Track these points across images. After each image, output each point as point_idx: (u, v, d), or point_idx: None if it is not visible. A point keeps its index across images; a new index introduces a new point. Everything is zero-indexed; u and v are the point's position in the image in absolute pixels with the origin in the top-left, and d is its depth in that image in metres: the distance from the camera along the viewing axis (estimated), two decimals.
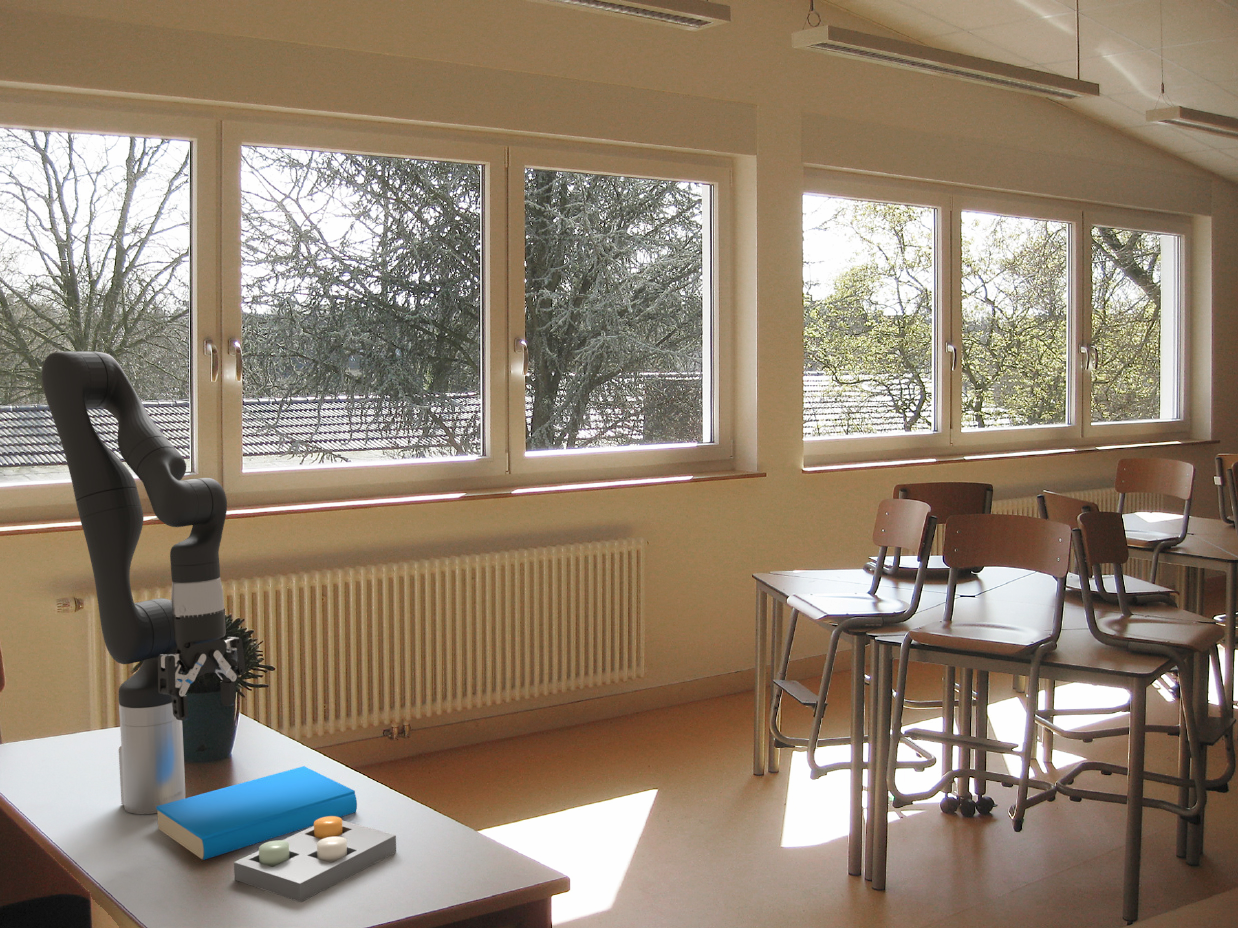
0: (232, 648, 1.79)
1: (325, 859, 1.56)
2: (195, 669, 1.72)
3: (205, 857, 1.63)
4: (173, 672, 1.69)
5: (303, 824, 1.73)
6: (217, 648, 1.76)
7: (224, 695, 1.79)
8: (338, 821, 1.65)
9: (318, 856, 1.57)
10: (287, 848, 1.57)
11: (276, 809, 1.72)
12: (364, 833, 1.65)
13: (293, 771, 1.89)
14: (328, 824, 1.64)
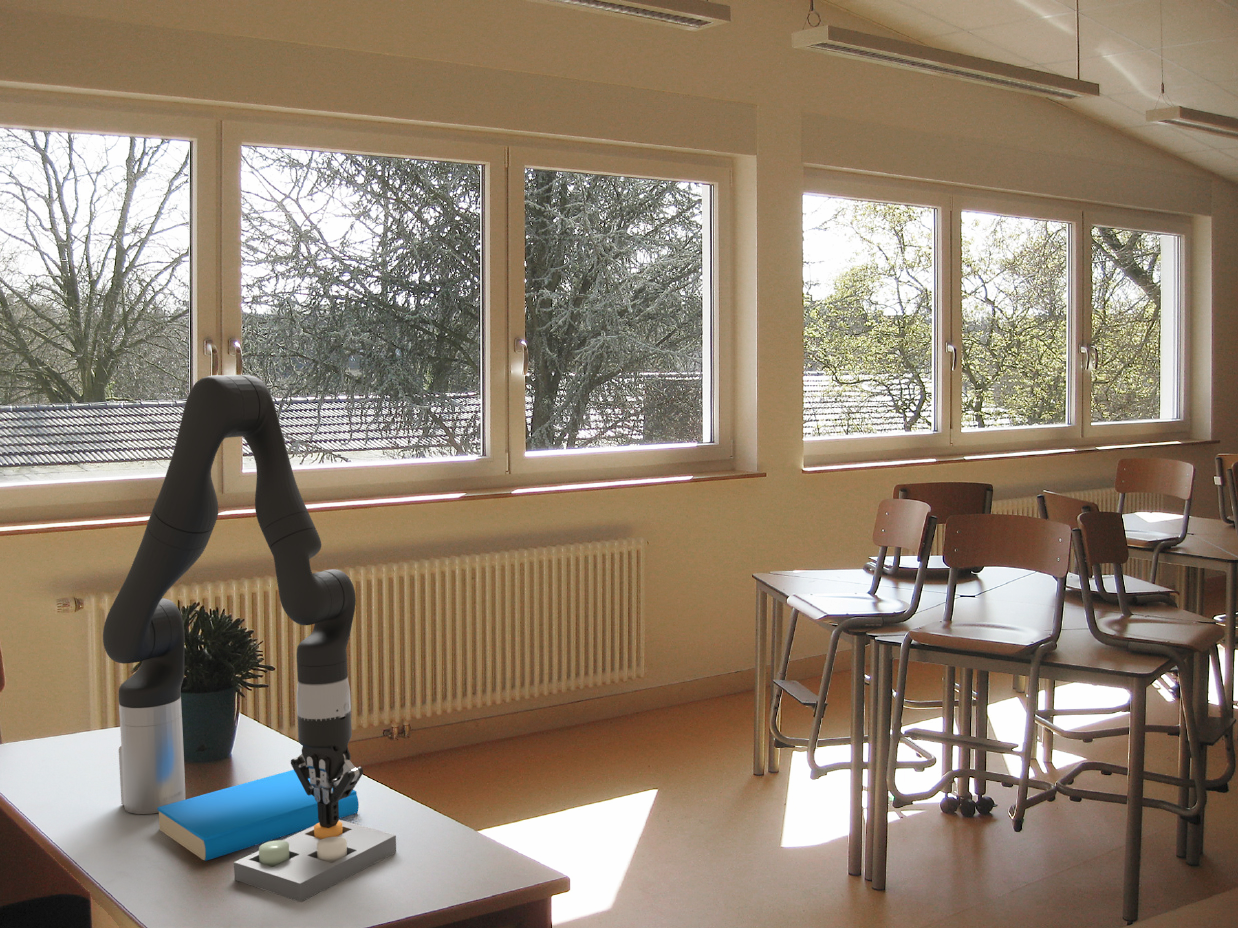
0: None
1: (325, 859, 1.56)
2: None
3: (207, 858, 1.62)
4: None
5: (304, 825, 1.72)
6: None
7: None
8: (338, 825, 1.66)
9: (318, 856, 1.57)
10: (287, 848, 1.57)
11: (278, 810, 1.72)
12: (364, 833, 1.65)
13: (294, 771, 1.88)
14: (328, 828, 1.64)
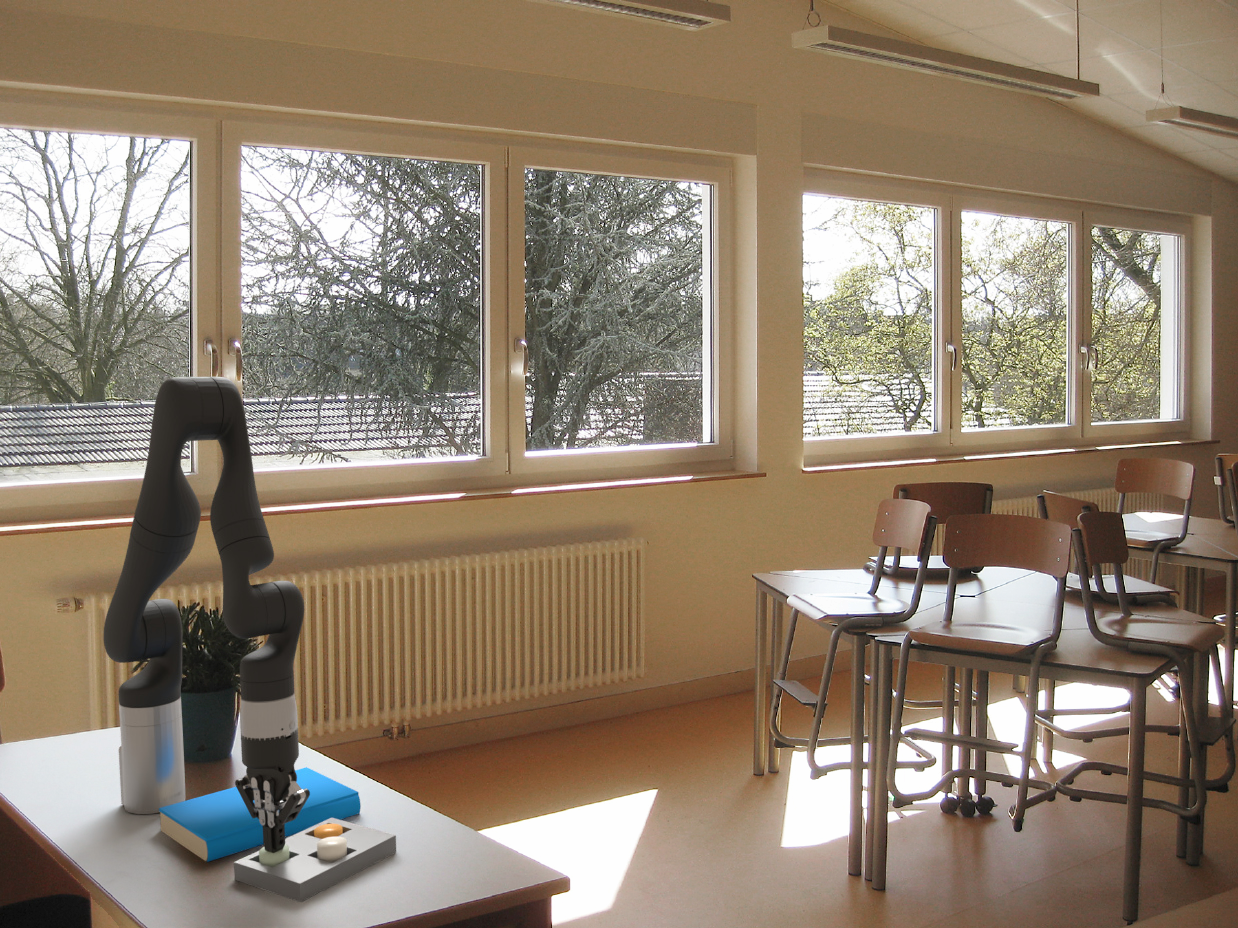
0: None
1: (325, 859, 1.56)
2: None
3: (209, 859, 1.62)
4: None
5: (306, 826, 1.72)
6: None
7: None
8: (338, 828, 1.66)
9: (318, 856, 1.57)
10: (287, 852, 1.57)
11: None
12: (364, 833, 1.65)
13: None
14: (328, 831, 1.65)
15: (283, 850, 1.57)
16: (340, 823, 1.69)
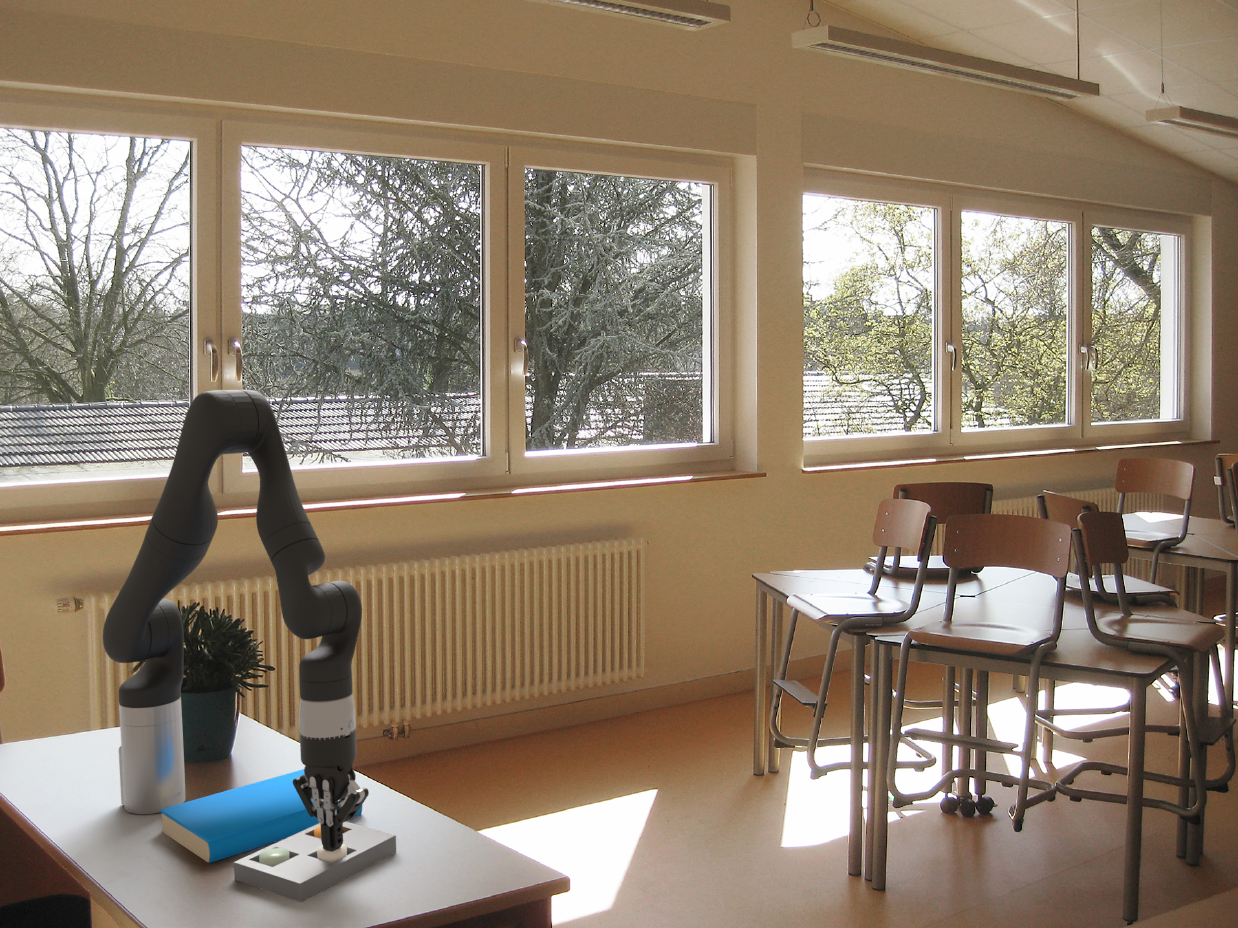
0: None
1: None
2: None
3: (211, 860, 1.61)
4: None
5: (308, 826, 1.72)
6: None
7: None
8: None
9: None
10: (287, 856, 1.57)
11: (282, 811, 1.71)
12: (364, 833, 1.65)
13: (297, 773, 1.88)
14: None
15: (283, 854, 1.57)
16: None
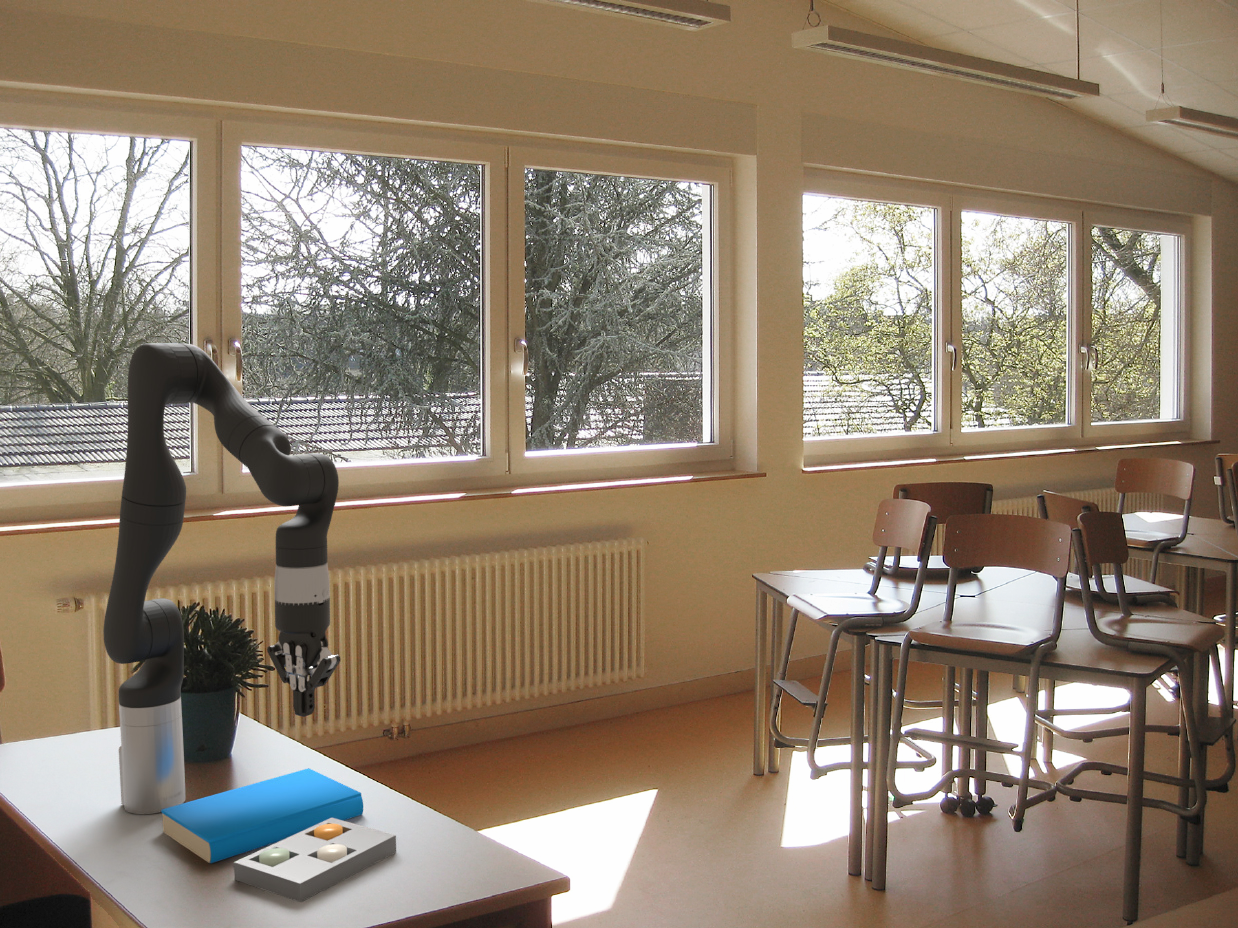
0: None
1: None
2: None
3: (212, 861, 1.61)
4: None
5: (309, 827, 1.72)
6: None
7: None
8: (338, 828, 1.66)
9: None
10: (287, 856, 1.57)
11: (283, 812, 1.71)
12: (364, 833, 1.65)
13: (298, 773, 1.88)
14: (328, 831, 1.65)
15: (283, 854, 1.57)
16: (340, 823, 1.69)
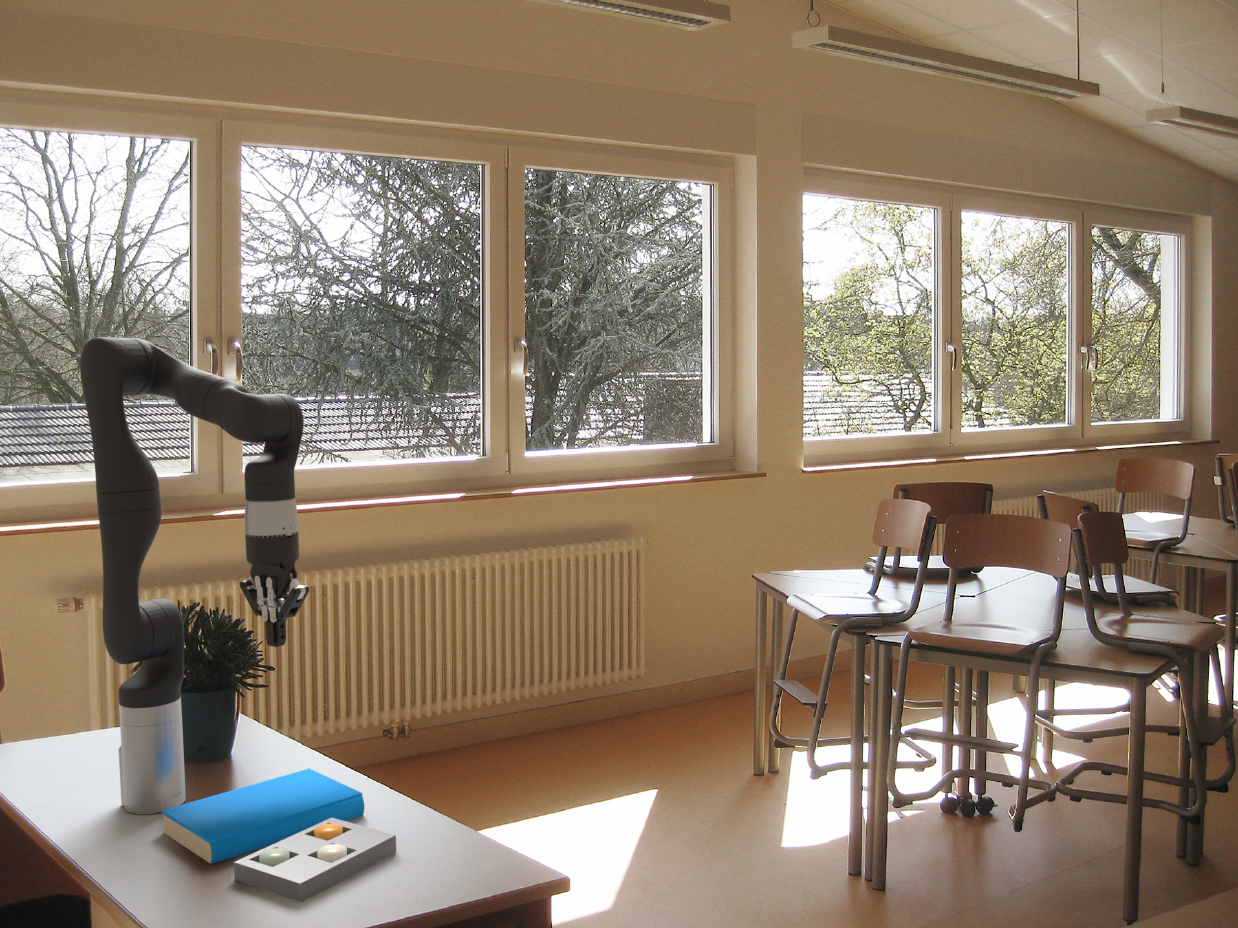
0: None
1: None
2: None
3: (213, 861, 1.61)
4: None
5: None
6: None
7: None
8: (338, 828, 1.66)
9: None
10: (287, 856, 1.57)
11: (283, 812, 1.71)
12: (364, 833, 1.65)
13: (298, 773, 1.87)
14: (328, 831, 1.65)
15: (283, 854, 1.57)
16: (340, 823, 1.69)
